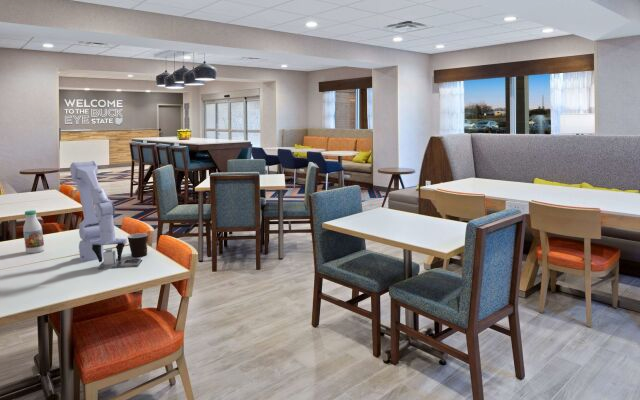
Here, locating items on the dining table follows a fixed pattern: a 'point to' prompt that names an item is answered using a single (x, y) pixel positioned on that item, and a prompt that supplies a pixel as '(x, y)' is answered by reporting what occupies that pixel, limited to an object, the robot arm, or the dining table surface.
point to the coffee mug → (138, 244)
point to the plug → (109, 256)
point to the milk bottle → (33, 233)
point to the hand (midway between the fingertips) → (110, 261)
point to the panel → (122, 264)
